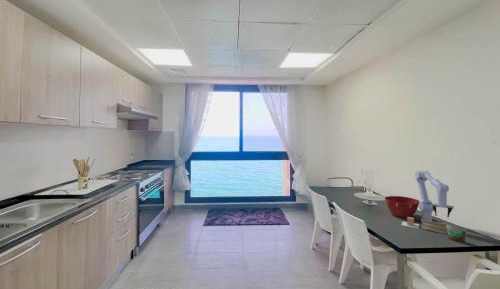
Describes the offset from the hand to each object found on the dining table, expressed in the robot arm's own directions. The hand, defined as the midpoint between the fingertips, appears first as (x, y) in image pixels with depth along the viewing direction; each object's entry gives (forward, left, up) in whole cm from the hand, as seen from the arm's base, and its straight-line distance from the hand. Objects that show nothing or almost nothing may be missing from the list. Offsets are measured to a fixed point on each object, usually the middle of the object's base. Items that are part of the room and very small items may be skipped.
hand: (441, 216), depth 199 cm
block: (+5, -21, -10) cm, 24 cm away
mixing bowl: (-22, -29, -10) cm, 38 cm away
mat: (+5, -21, -10) cm, 24 cm away
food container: (+24, +6, -10) cm, 27 cm away
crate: (+5, -4, -10) cm, 12 cm away
